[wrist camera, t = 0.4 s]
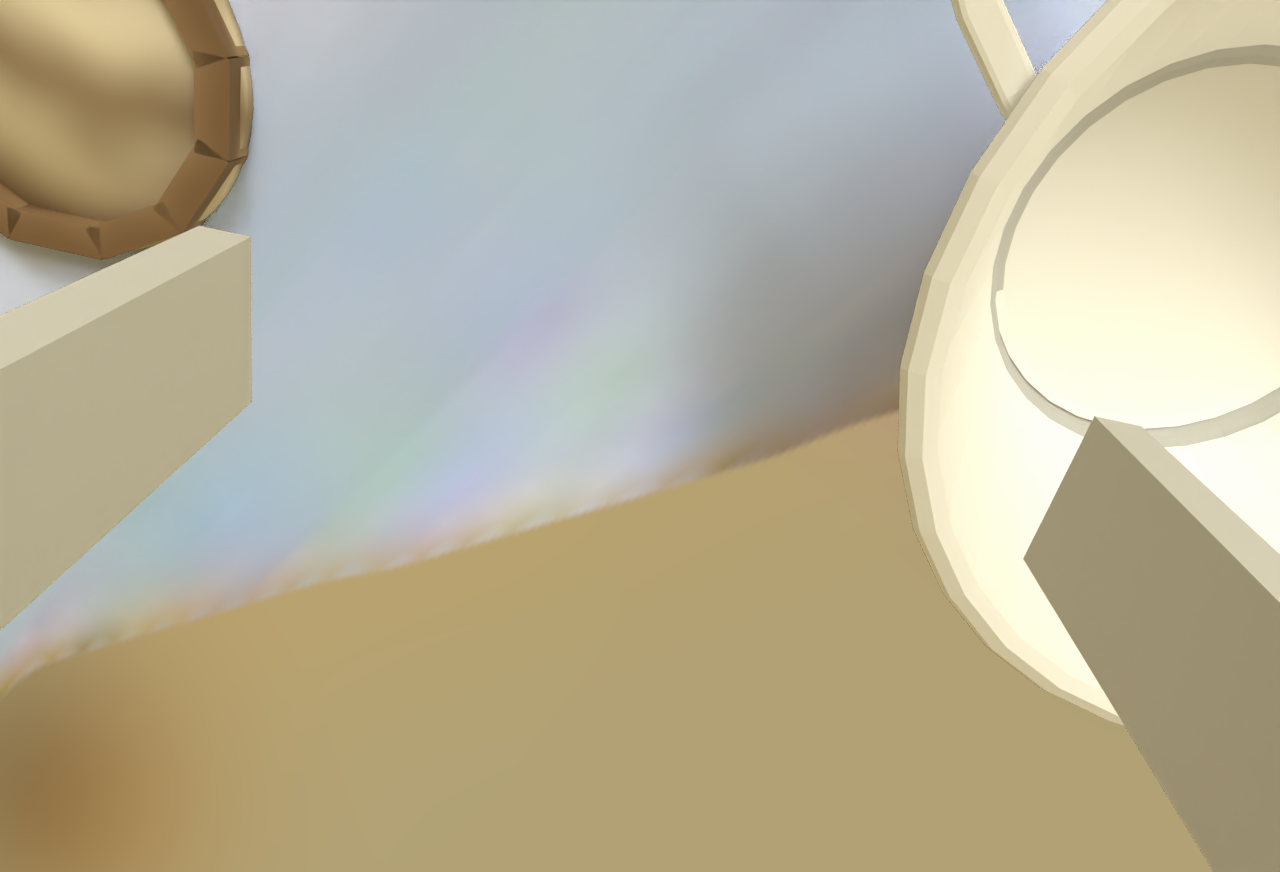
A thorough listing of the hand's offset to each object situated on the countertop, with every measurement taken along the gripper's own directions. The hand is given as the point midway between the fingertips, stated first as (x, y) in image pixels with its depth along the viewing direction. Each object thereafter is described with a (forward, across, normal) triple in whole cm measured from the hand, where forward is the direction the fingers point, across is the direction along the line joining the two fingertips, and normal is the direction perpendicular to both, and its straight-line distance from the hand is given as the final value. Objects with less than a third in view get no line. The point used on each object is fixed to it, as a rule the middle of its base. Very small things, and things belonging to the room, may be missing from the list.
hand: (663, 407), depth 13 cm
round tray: (+28, -27, -2) cm, 39 cm away
